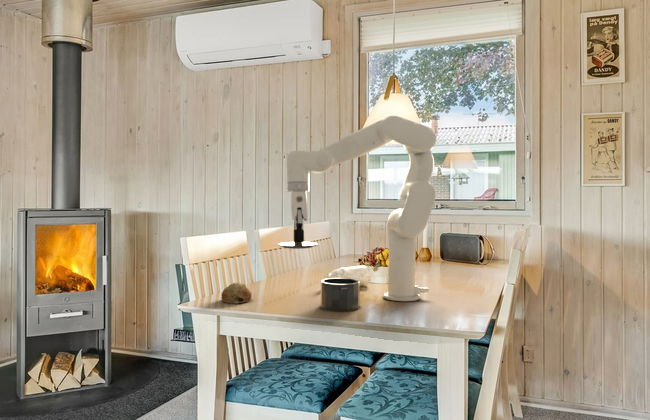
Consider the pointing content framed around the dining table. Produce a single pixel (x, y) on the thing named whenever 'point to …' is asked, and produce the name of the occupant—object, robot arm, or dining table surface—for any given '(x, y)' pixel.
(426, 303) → the dining table surface
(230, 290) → the brown rounded lump
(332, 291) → the pan
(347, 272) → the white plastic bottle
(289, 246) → the pan lid
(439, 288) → the dining table surface
